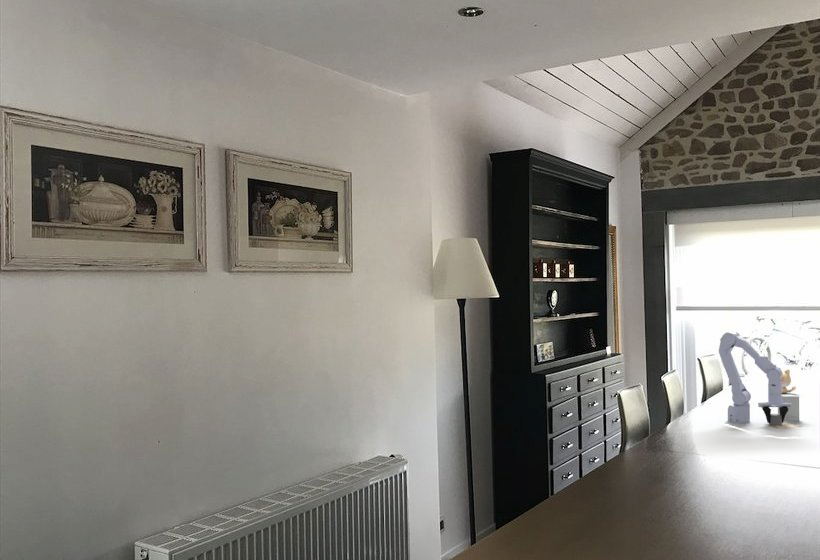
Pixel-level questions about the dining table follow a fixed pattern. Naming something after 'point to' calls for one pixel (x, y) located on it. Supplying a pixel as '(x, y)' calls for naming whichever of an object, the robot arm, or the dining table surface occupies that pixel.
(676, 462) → the dining table surface
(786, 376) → the kitten
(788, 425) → the board
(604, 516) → the dining table surface
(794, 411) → the supplement box
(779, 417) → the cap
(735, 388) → the robot arm
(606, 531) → the dining table surface
